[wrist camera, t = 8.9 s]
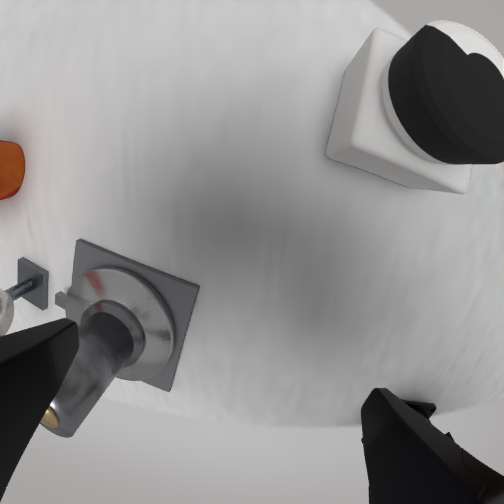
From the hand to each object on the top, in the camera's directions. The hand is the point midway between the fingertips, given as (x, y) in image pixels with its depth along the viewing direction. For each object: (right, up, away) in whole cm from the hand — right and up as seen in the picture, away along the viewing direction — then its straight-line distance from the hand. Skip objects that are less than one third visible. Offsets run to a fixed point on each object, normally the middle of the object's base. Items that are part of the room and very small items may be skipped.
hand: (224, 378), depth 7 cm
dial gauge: (-21, 0, +15) cm, 26 cm away
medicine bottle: (+10, +12, +11) cm, 19 cm away
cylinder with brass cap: (-10, -3, +13) cm, 17 cm away
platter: (-11, -2, +14) cm, 18 cm away
